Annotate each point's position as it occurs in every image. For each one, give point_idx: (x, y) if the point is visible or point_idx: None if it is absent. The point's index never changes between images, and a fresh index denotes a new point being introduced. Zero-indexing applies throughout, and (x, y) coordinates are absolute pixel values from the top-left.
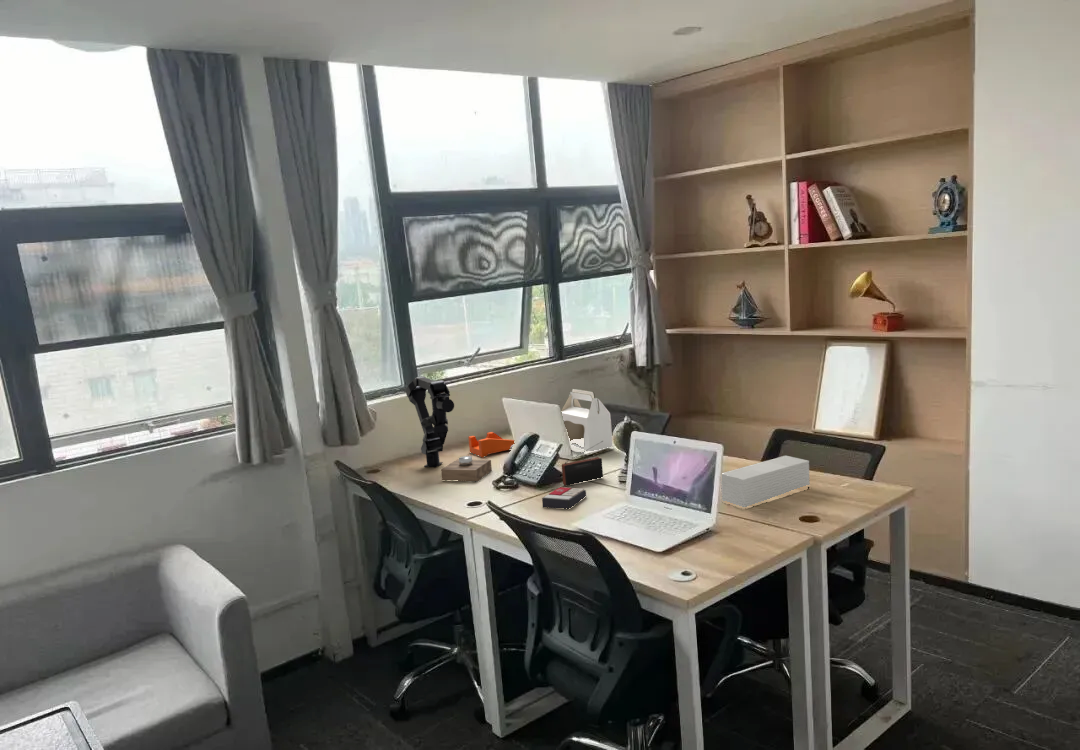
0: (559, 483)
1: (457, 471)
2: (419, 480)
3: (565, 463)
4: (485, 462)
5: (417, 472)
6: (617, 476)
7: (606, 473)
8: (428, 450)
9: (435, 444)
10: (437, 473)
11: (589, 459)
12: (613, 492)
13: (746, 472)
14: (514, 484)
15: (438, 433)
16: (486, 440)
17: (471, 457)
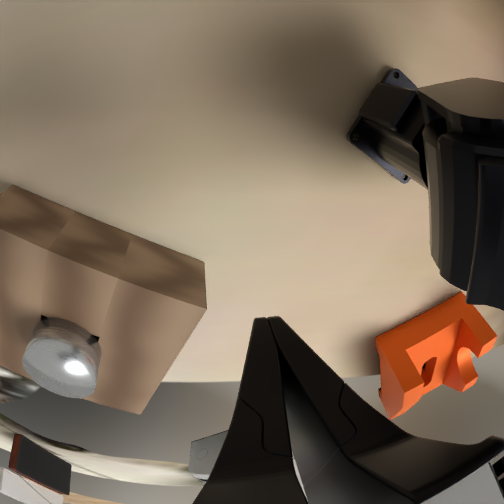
0: (28, 434)
1: None
2: (58, 37)
3: (17, 472)
4: (97, 400)
5: (282, 5)
6: (76, 471)
7: (92, 471)
8: (433, 122)
9: (442, 217)
10: (183, 137)
11: (51, 488)
12: (5, 448)
13: (8, 495)
14: (4, 390)
15: (214, 487)
16: (401, 400)
17: (62, 394)
